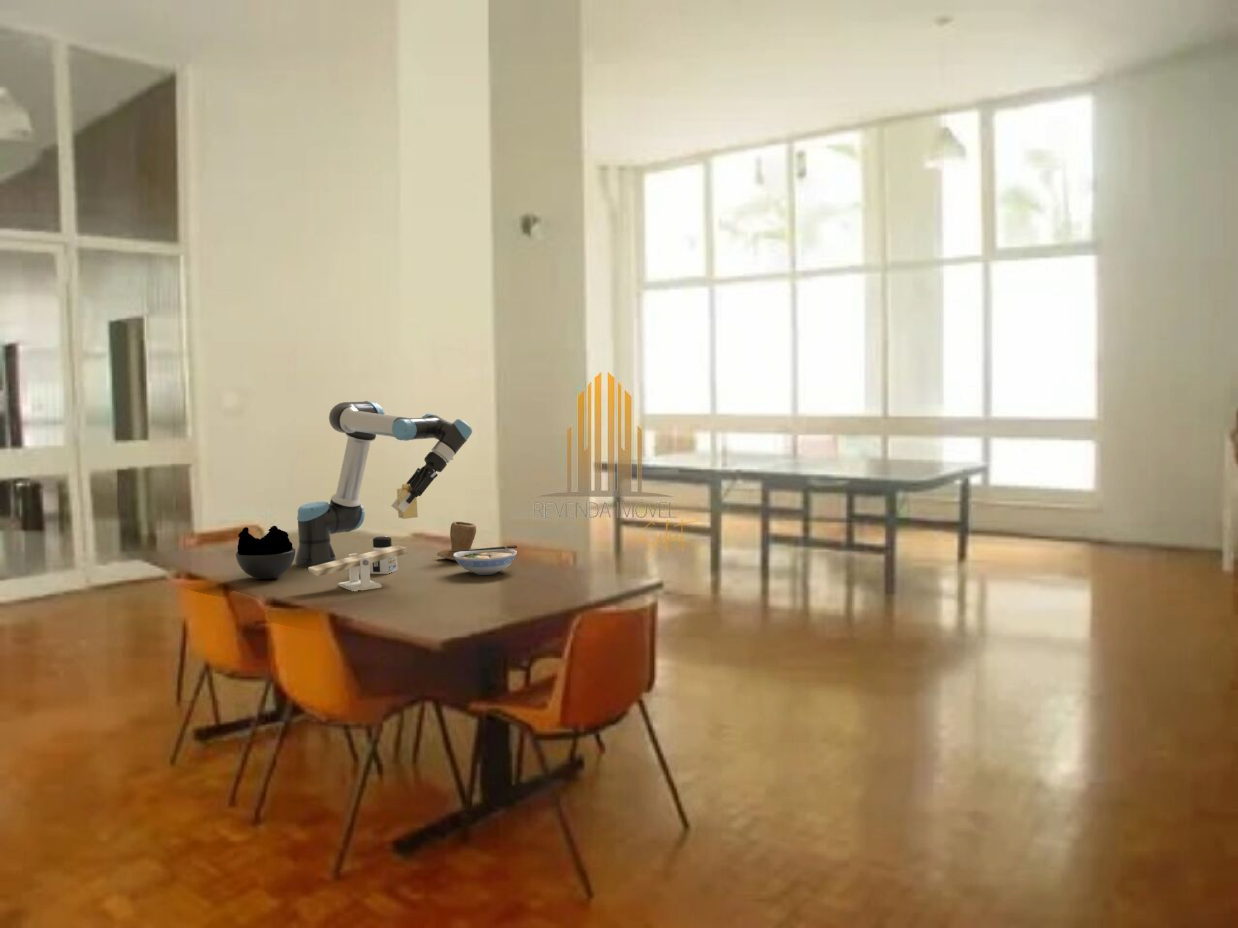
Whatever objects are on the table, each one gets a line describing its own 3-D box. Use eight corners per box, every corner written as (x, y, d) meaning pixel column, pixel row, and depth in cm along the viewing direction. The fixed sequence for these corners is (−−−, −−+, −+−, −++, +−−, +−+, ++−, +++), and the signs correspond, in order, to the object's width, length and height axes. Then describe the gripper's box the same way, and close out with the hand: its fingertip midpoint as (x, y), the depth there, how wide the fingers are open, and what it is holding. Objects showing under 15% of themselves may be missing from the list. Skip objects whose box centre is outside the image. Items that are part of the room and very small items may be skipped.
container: (388, 574, 360) (387, 538, 359) (368, 573, 361) (367, 538, 360) (397, 570, 367) (396, 535, 366) (378, 569, 369) (376, 535, 368)
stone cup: (482, 560, 385) (481, 521, 383) (455, 564, 377) (454, 525, 376) (462, 555, 396) (461, 518, 395) (436, 559, 389) (434, 521, 388)
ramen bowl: (454, 581, 343) (453, 558, 343) (447, 570, 365) (446, 548, 365) (526, 576, 350) (525, 553, 349) (515, 565, 372) (514, 543, 371)
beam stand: (353, 591, 330) (351, 560, 329) (338, 585, 340) (337, 555, 339) (381, 587, 336) (380, 556, 335) (366, 581, 346) (365, 551, 345)
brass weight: (398, 517, 347) (396, 484, 346) (412, 515, 349) (410, 483, 348) (403, 518, 343) (402, 485, 341) (417, 517, 345) (415, 484, 344)
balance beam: (317, 576, 325) (316, 570, 325) (309, 573, 331) (308, 567, 331) (407, 553, 343) (406, 547, 343) (398, 550, 350) (397, 545, 350)
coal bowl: (308, 575, 360) (306, 523, 359) (268, 586, 342) (265, 531, 340) (266, 572, 368) (263, 521, 367) (224, 582, 350) (221, 529, 349)
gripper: (457, 465, 345) (415, 518, 338) (436, 462, 360) (395, 513, 353) (442, 451, 342) (399, 504, 334) (421, 449, 357) (380, 499, 349)
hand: (397, 508), depth 344 cm, fingers closed on brass weight, 5 cm apart
